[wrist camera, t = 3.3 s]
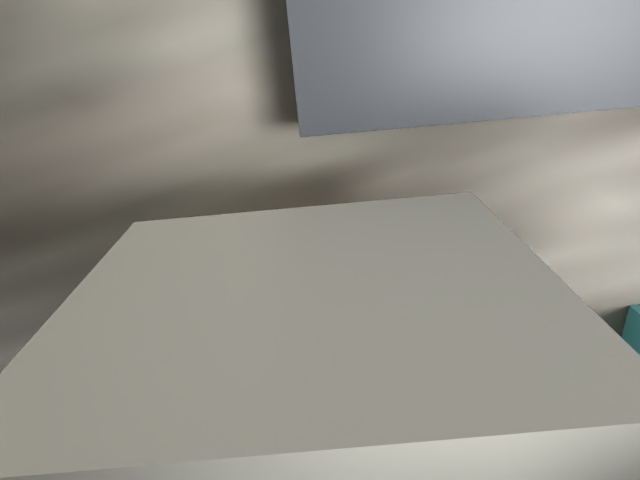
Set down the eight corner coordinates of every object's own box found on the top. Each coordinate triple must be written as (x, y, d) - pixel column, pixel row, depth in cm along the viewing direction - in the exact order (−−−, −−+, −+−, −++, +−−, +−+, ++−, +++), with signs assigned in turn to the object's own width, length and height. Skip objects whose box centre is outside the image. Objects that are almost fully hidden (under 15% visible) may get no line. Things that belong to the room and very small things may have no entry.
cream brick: (454, 431, 10) (570, 742, 6) (201, 453, 10) (122, 777, 6) (470, 191, 8) (704, 417, 3) (134, 222, 8) (-100, 485, 3)
